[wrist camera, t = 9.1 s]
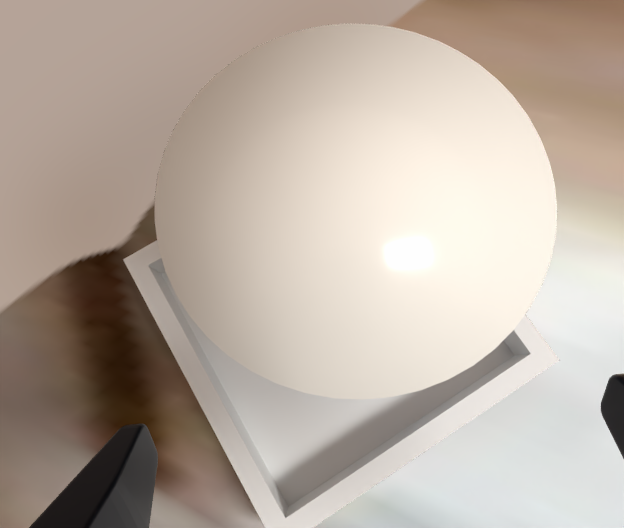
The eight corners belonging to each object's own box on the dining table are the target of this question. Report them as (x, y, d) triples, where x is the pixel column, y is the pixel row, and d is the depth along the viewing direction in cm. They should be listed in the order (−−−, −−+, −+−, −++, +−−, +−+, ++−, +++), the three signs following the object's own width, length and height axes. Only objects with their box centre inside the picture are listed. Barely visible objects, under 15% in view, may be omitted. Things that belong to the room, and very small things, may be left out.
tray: (532, 362, 20) (559, 360, 18) (283, 530, 19) (277, 551, 17) (371, 140, 23) (377, 113, 21) (144, 272, 22) (123, 259, 19)
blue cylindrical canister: (429, 338, 20) (644, 253, 6) (311, 412, 19) (281, 490, 6) (354, 227, 21) (405, -34, 8) (243, 293, 21) (89, 135, 7)
